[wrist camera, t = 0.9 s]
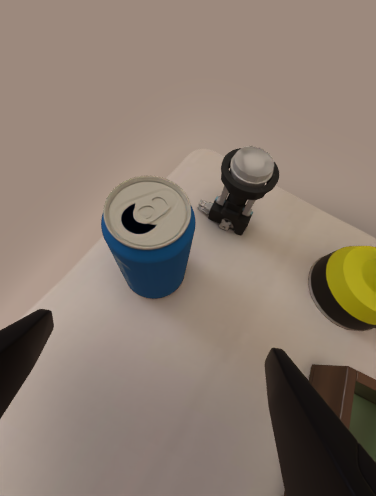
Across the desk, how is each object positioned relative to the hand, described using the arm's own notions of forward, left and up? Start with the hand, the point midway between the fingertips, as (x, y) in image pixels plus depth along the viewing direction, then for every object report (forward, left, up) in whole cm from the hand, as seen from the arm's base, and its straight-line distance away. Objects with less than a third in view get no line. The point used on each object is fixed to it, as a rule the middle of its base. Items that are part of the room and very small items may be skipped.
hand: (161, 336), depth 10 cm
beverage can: (+7, +5, -15) cm, 17 cm away
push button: (+17, +1, -15) cm, 22 cm away
